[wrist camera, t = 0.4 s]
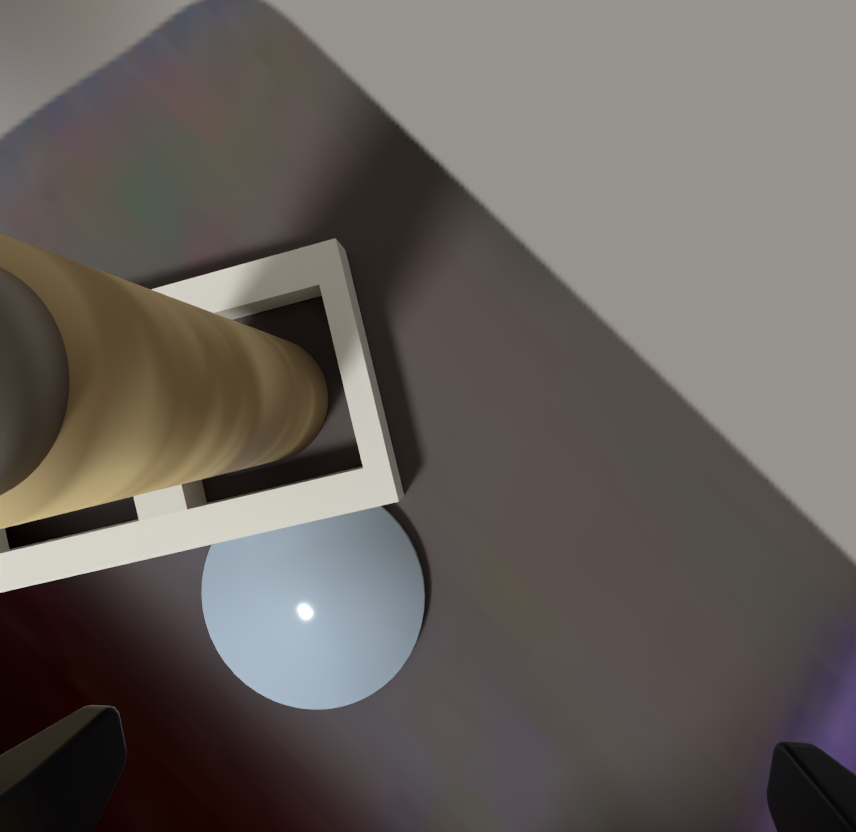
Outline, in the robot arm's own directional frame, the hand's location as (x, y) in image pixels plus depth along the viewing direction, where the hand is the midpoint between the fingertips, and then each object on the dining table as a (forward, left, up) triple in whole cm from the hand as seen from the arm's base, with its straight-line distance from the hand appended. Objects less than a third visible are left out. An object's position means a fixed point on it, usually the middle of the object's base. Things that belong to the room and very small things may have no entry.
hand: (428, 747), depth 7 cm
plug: (+4, +8, -14) cm, 17 cm away
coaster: (-3, +6, -14) cm, 15 cm away
